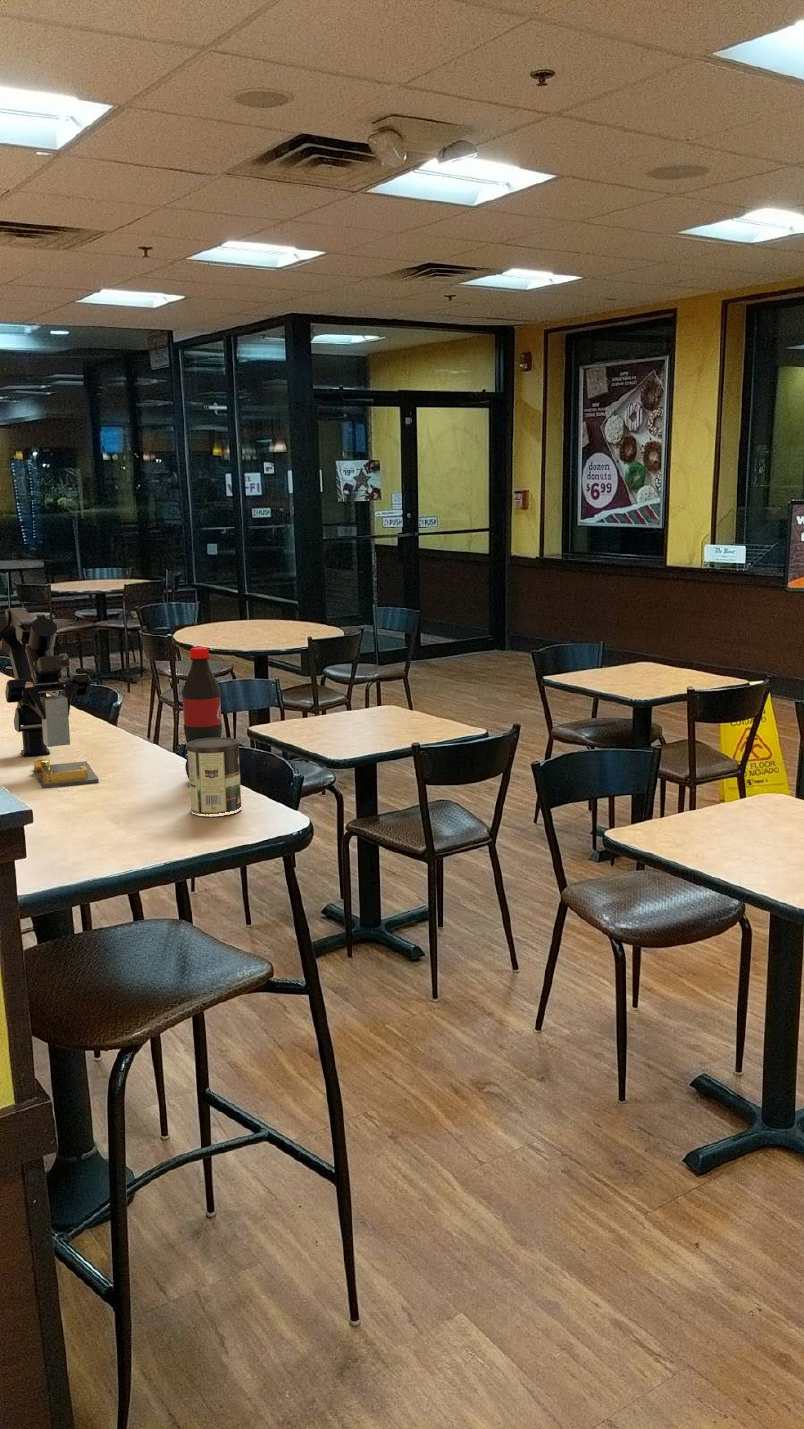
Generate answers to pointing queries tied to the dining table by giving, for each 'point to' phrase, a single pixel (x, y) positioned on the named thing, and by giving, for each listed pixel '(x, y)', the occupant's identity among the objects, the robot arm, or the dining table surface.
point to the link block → (55, 721)
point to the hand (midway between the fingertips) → (56, 717)
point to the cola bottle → (201, 700)
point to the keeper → (63, 773)
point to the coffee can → (214, 775)
